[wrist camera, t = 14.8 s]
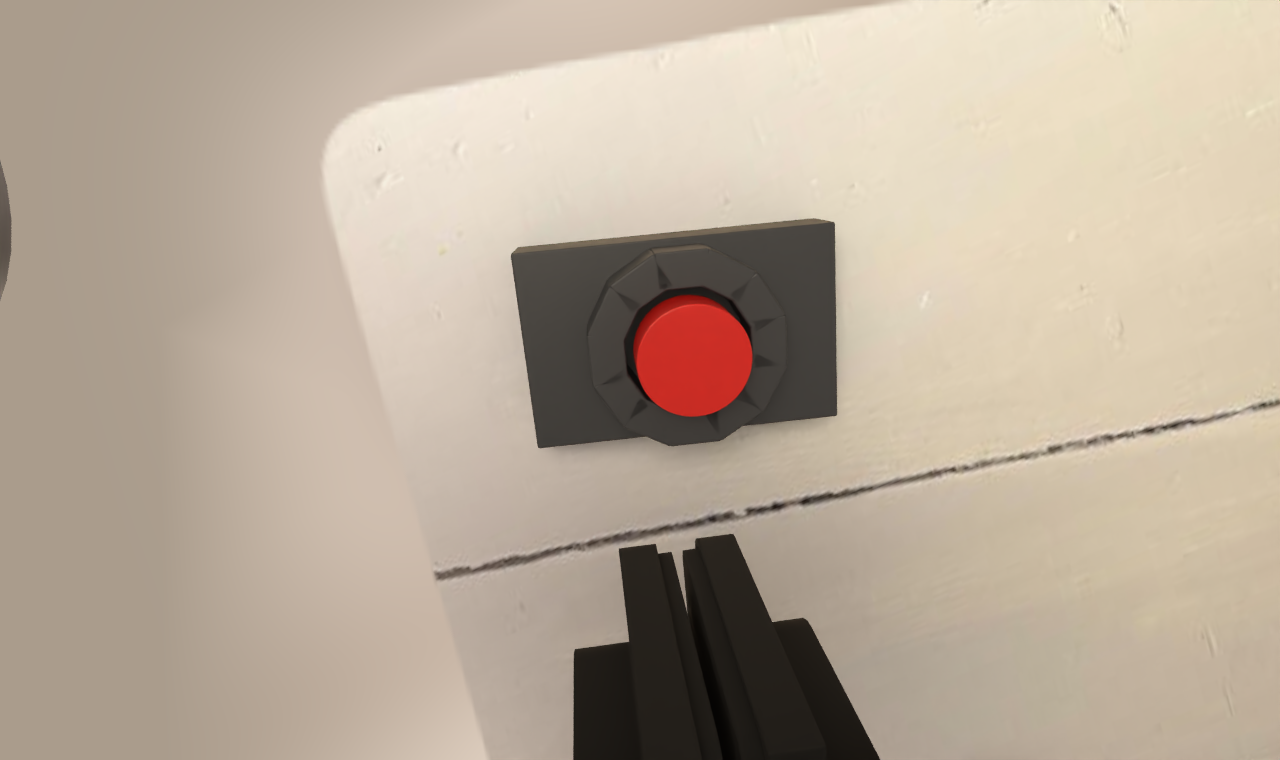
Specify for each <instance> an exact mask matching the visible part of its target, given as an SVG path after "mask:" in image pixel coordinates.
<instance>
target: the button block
mask: <svg viewBox="0 0 1280 760" xmlns="http://www.w3.org/2000/svg"><path fill="white" fill-rule="evenodd" d="M511 260H512V267H513V274H514V281H515V288H516V295H517V302H518V309H519V316H520V323H521V331H522V338H523V345H524V352H525V359H526V366H527V373H528V380H529V387H530V394H531V402H532V409H533V416H534V423H535V430H536V437H537V444H538V448H546V447H555V446H564V445H573V444H582V443H591V442H601V441H610V440H619V439H628V438H637V437H649V438H651V439H653V440H656V441H658V442H661V443H663V444H666V445H668V446H678V445H687V444H696V443H705V442H714V441H720V440H722V439H724V438H725V437H727V436H728V435H730V434H731V433H733V432H734V431H736V430H737V429H739V428H740V427H742V426H747V425H756V424H765V423H774V422H783V421H792V420H801V419H810V418H820V417H829V416H836V415H837V376H836V290H835V223H834V222H830V221H825V220H820V219H804V220H793V221H783V222H773V223H763V224H753V225H742V226H732V227H722V228H712V229H702V230H691V231H681V232H671V233H661V234H650V235H640V236H630V237H620V238H610V239H599V240H589V241H579V242H569V243H558V244H548V245H538V246H528V247H518V248H517V249H516V250H515V251H514V252H513V253H512V254H511ZM680 295H699V296H703V297H707V298H709V299H712V300H714V301H716V302H717V303H719V304H720V305H722V306H723V307H724V308H725V309H726V310H727V311H728V312H729V313H730V314H731V315H732V316H733V317H734V318H735V319H736V320H738V321H739V323H740V324H741V325H742V327H743V328H744V330H745V331H746V333H747V335H748V338H749V340H750V343H751V347H752V368H751V372H750V376H749V378H748V381H747V383H746V385H745V387H744V388H743V390H742V391H741V393H740V394H739V395H738V396H737V397H736V398H735V399H734V400H733V401H732V402H731V403H730V404H728V405H727V406H726V407H724V408H722V409H721V410H719V411H716V412H714V413H711V414H708V415H703V416H695V417H689V416H681V415H676V414H673V413H671V412H668V411H666V410H664V409H662V408H661V407H660V406H658V405H657V404H656V403H654V402H653V401H652V400H651V399H650V397H649V396H648V395H647V394H646V392H645V391H644V389H643V387H642V385H641V383H640V380H639V377H638V374H637V369H636V365H635V361H634V355H633V345H634V338H635V334H636V331H637V329H638V327H639V325H640V323H641V321H642V320H643V318H644V317H645V316H646V314H647V313H648V312H649V311H650V310H651V309H652V308H654V307H655V306H656V305H658V304H659V303H661V302H662V301H664V300H667V299H669V298H672V297H675V296H680Z"/></svg>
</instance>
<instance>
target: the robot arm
mask: <svg viewBox="0 0 1280 760" xmlns="http://www.w3.org/2000/svg"><path fill="white" fill-rule="evenodd" d="M619 555H620V564H621V572H622V581H623V590H624V599H625V607H626V616H627V625H628V634H629V642H625V643H617V644H610V645H603V646H596V647H588V648H581V649H575V651H574V746H573V760H880V758H879V756H878V754H877V752H876V751H875V749H874V747H873V745H872V743H871V741H870V739H869V737H868V735H867V733H866V731H865V729H864V727H863V725H862V724H861V722H860V720H859V718H858V716H857V714H856V712H855V710H854V708H853V706H852V704H851V702H850V700H849V698H848V697H847V695H846V693H845V691H844V689H843V687H842V685H841V683H840V681H839V679H838V677H837V675H836V673H835V672H834V670H833V668H832V666H831V664H830V662H829V660H828V658H827V656H826V654H825V652H824V650H823V648H822V646H821V645H820V643H819V641H818V639H817V637H816V635H815V633H814V631H813V629H812V627H811V626H810V624H809V623H808V621H807V620H806V619H804V618H799V619H792V620H784V621H777V622H772V621H771V618H770V616H769V614H768V612H767V609H766V607H765V605H764V602H763V600H762V598H761V596H760V593H759V591H758V589H757V586H756V584H755V582H754V580H753V577H752V575H751V573H750V570H749V568H748V566H747V564H746V561H745V559H744V557H743V554H742V552H741V550H740V548H739V545H738V543H737V541H736V538H735V536H734V535H733V534H728V535H720V536H712V537H705V538H697V539H696V540H695V549H690V550H683V567H684V578H685V590H686V601H687V611H686V607H685V603H684V599H683V595H682V591H681V587H680V583H679V579H678V575H677V571H676V567H675V563H674V559H673V556H672V552H668V553H660V554H658V552H657V548H656V544H651V545H643V546H636V547H628V548H620V549H619ZM687 613H688V615H687Z"/></svg>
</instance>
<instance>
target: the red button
mask: <svg viewBox="0 0 1280 760" xmlns="http://www.w3.org/2000/svg"><path fill="white" fill-rule="evenodd" d="M633 355H634V361H635V365H636V369H637V374H638V377H639V380H640V383H641V385H642V387H643V389H644V391H645V392H646V394H647V395H648V396H649V397H650V399H651V400H652V401H653V402H654V403H656V404H657V405H658V406H660V407H661V408H662V409H664V410H666V411H668V412H671V413H673V414H676V415H681V416H689V417H695V416H703V415H708V414H711V413H714V412H716V411H719V410H721V409H722V408H724V407H726V406H727V405H728V404H730V403H731V402H732V401H733V400H734V399H735V398H736V397H737V396H738V395H739V394H740V393H741V391H742V390H743V388H744V387H745V385H746V383H747V381H748V378H749V376H750V372H751V368H752V347H751V343H750V340H749V338H748V335H747V333H746V331H745V330H744V328H743V327H742V325H741V324H740V323H739V321H738V320H736V319H735V318H734V317H733V316H732V315H731V314H730V313H729V312H728V311H727V310H726V309H725V308H724V307H723V306H722V305H720V304H719V303H717V302H716V301H714V300H712V299H709V298H707V297H703V296H699V295H680V296H675V297H672V298H669V299H667V300H664V301H662V302H661V303H659V304H658V305H656V306H655V307H654V308H652V309H651V310H650V311H649V312H648V313H647V314H646V316H645V317H644V318H643V320H642V321H641V323H640V325H639V327H638V329H637V331H636V334H635V338H634V345H633Z"/></svg>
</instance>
